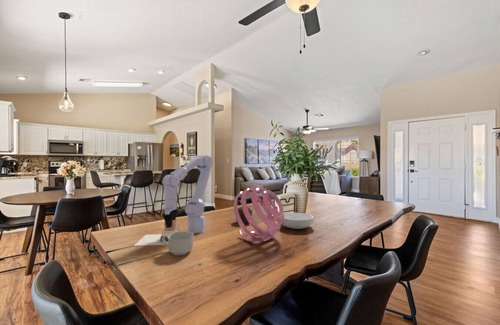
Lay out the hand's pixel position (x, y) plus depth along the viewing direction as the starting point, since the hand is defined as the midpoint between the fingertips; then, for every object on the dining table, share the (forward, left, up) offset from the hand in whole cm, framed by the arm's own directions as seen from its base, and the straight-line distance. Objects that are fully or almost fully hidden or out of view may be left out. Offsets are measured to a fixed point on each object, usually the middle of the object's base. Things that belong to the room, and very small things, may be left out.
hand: (170, 225), depth 121 cm
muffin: (-39, -31, -8) cm, 50 cm away
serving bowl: (-70, -18, -8) cm, 73 cm away
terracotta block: (0, 0, -2) cm, 2 cm away
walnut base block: (0, 0, -7) cm, 7 cm away
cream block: (0, 0, -4) cm, 4 cm away
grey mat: (+5, 0, -7) cm, 9 cm away
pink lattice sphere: (-45, +3, -8) cm, 46 cm away
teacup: (-7, +17, -8) cm, 20 cm away
